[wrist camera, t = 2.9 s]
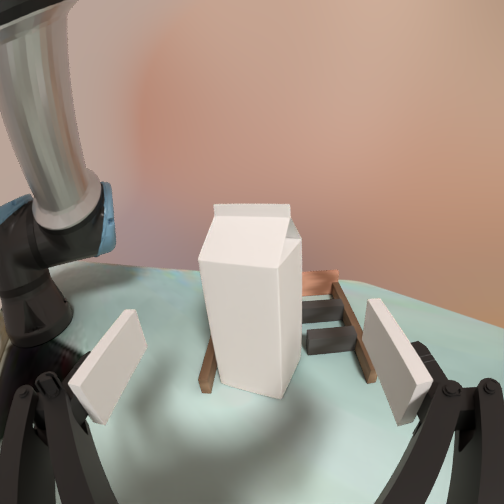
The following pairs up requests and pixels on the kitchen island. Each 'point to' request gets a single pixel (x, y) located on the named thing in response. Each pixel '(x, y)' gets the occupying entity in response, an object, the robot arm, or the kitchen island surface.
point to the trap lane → (316, 338)
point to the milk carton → (254, 295)
